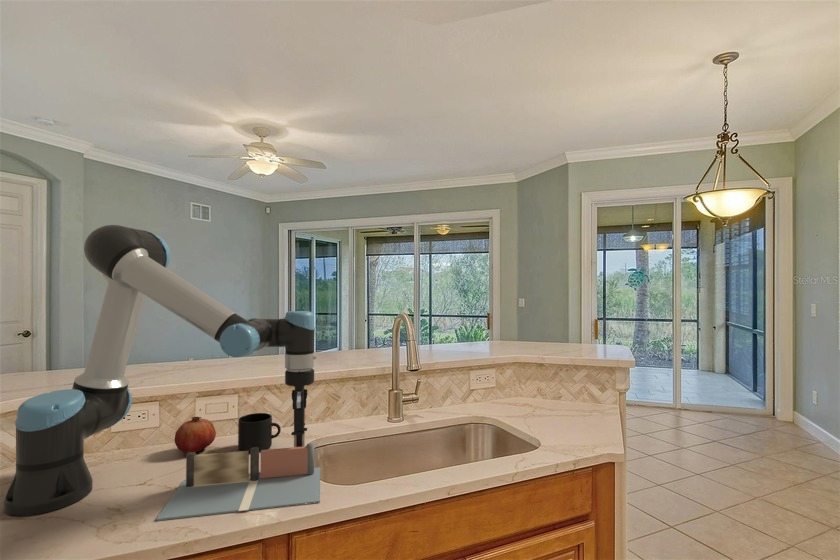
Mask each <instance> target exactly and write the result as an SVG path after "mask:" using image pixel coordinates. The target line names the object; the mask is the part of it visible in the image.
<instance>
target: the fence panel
mask: <svg viewBox="0 0 840 560" xmlns="http://www.w3.org/2000/svg"><path fill="white" fill-rule="evenodd" d="M314 468H315V443H314V442H309V443H307V444H306V445H305V447H294V446H292V447H282V448H271V449H270V448H269V449H267V450H261V452H260V473H261V478H271V477H281V476H292V475H302V474H313V473H314Z"/></svg>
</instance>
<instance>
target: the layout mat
mask: <svg viewBox="0 0 840 560" xmlns="http://www.w3.org/2000/svg"><path fill="white" fill-rule="evenodd" d="M314 502H320V503H321V466H319V467H318V466H317V467H314V473H313V474H302V475H292V476H281V477H271V478H261V472H259V479H258V480H256V481H251V480H250V473H249V479H248V481H239V482H229V483H218V484H208V485H198V486H192V487H186V479H184V480H182V482H181V483H180V485H179V486H178V487H177V489H176V490H175V492H174V493H173V495H172V496H171V497H170V499H169V500H168V501H167V503H166V505H165V506H164V507H163V508H162V510H161V511H160V513H159V514H158V515H157V517H156V519H155V522H160V521H169V520H176V519H185V518H194V517H204V516H213V515H221V514H230V513H231V514H232V513H238V512H239V513H240V512H241V513H242V512H247V511H259V510H265V509H266V510H268V509H276V508H283V506H286V507H290V506H289V505H295V506H297V505H296V504H304V505H306V504H305V503H313V504H315V503H314Z"/></svg>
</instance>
